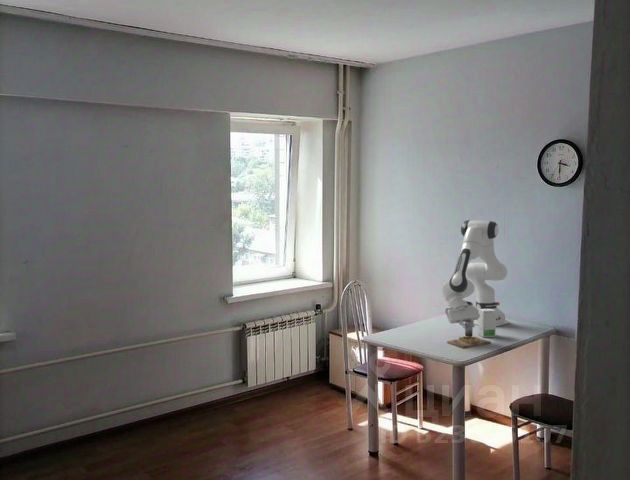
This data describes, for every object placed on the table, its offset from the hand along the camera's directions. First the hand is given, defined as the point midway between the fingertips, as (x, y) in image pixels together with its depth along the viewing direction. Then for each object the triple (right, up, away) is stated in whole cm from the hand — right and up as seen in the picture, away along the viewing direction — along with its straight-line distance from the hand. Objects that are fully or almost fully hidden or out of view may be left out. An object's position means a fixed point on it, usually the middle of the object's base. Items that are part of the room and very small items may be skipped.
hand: (469, 327), depth 331 cm
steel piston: (0, -5, +1) cm, 5 cm away
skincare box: (+15, -8, +17) cm, 24 cm away
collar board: (0, -9, +2) cm, 9 cm away
